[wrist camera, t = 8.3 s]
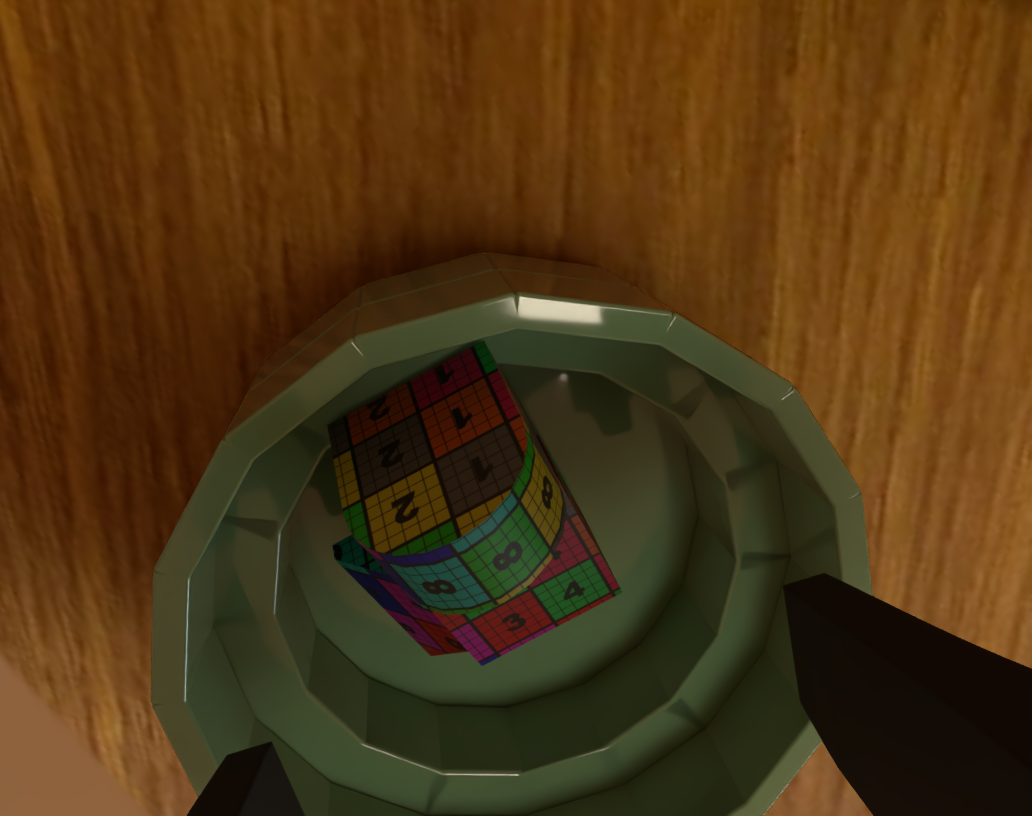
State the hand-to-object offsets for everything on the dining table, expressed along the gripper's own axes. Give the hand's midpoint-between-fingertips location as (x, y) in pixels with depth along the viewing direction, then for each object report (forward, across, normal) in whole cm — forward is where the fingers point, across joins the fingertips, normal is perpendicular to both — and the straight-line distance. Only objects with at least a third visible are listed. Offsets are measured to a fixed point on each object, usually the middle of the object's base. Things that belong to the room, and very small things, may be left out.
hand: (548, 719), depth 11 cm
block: (+4, +1, -1) cm, 5 cm away
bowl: (+6, 0, 0) cm, 6 cm away
